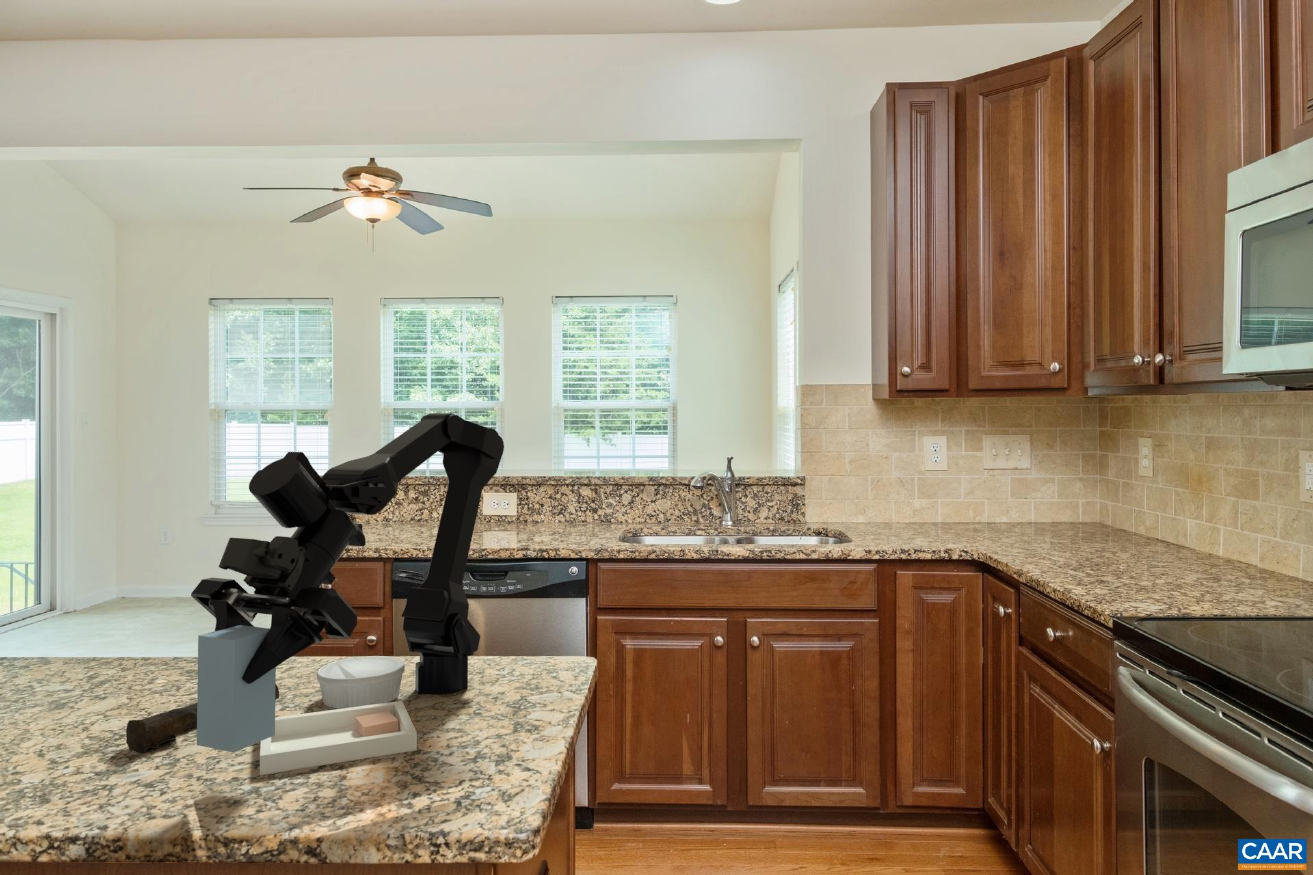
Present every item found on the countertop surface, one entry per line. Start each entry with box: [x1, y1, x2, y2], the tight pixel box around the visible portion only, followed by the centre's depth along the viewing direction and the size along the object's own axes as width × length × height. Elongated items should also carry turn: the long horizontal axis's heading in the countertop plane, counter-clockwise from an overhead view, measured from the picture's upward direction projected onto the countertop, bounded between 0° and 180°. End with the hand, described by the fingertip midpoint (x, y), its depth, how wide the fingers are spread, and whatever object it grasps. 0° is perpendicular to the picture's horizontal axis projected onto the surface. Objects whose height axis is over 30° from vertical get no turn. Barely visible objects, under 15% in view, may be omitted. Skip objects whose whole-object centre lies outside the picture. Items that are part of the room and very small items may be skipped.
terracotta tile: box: [355, 711, 398, 737], centre depth 96 cm, size 4×4×2 cm
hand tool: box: [125, 682, 280, 754], centre depth 100 cm, size 19×4×5 cm, turn 150°
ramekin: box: [316, 655, 406, 709], centre depth 108 cm, size 11×11×5 cm
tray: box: [259, 700, 418, 776], centre depth 92 cm, size 16×12×3 cm
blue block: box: [196, 625, 277, 753], centre depth 81 cm, size 5×5×11 cm
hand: (225, 678), depth 80 cm, fingers closed on blue block, 5 cm apart
